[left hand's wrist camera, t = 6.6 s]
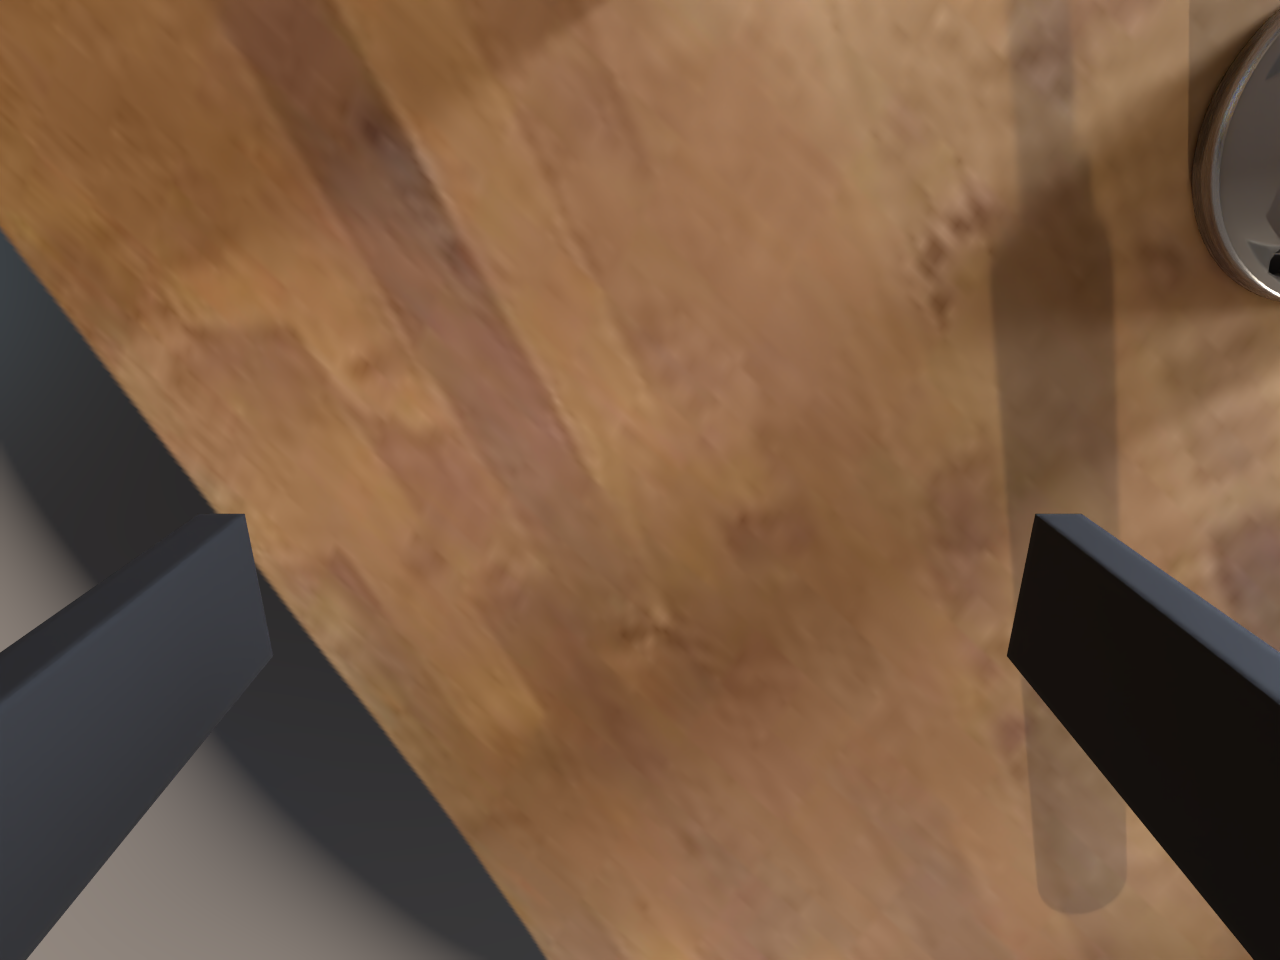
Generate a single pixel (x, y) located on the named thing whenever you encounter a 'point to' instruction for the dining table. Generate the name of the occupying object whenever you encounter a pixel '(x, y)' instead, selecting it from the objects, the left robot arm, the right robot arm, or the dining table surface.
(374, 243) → the dining table surface
